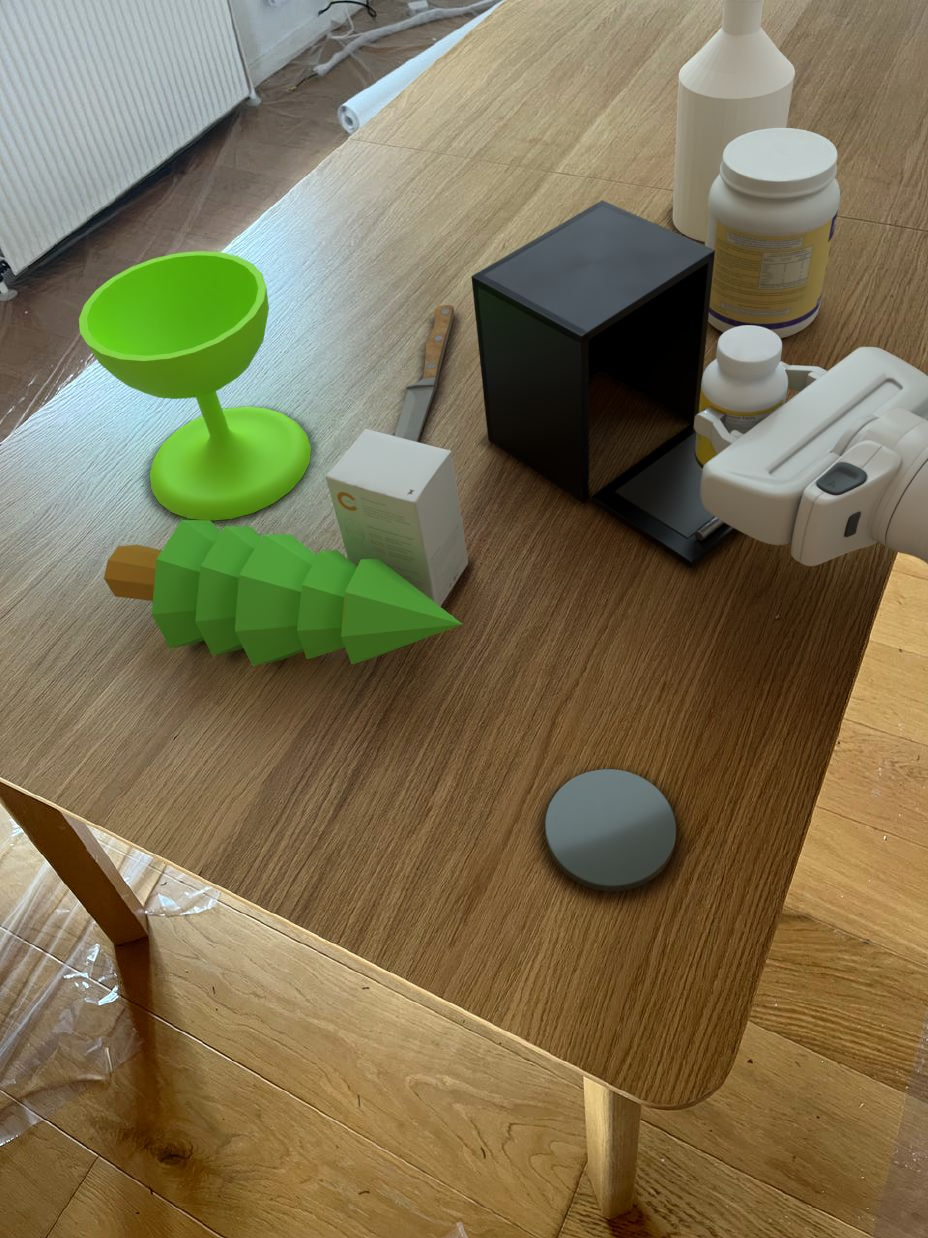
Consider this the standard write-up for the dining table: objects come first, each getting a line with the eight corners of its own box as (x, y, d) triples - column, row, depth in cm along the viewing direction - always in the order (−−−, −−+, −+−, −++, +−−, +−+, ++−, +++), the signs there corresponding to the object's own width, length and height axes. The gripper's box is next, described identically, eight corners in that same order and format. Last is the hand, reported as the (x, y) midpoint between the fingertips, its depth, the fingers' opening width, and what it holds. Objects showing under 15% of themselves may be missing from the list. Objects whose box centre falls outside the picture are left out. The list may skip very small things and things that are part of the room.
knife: (426, 304, 112) (453, 304, 111) (428, 313, 113) (454, 313, 112) (371, 507, 93) (403, 507, 93) (373, 515, 94) (405, 516, 94)
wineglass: (264, 534, 93) (207, 373, 80) (118, 503, 98) (40, 346, 84) (337, 423, 103) (298, 261, 89) (200, 399, 107) (142, 242, 93)
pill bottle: (724, 425, 88) (739, 307, 79) (789, 457, 84) (813, 337, 75) (677, 465, 85) (687, 347, 76) (742, 499, 82) (761, 380, 73)
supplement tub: (839, 329, 104) (874, 168, 91) (726, 357, 103) (745, 198, 90) (786, 268, 112) (811, 111, 99) (680, 292, 111) (692, 138, 98)
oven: (803, 478, 91) (839, 304, 78) (686, 572, 86) (703, 403, 72) (601, 364, 104) (602, 199, 91) (488, 440, 99) (471, 275, 85)
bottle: (765, 248, 115) (800, 4, 96) (660, 239, 118) (673, 2, 99) (781, 194, 122) (815, -44, 102) (681, 187, 125) (696, -45, 106)
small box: (470, 563, 89) (454, 449, 79) (436, 616, 85) (415, 503, 75) (389, 539, 92) (364, 425, 82) (353, 588, 88) (323, 476, 78)
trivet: (656, 765, 74) (657, 758, 73) (691, 879, 68) (692, 873, 68) (534, 787, 74) (533, 780, 73) (559, 903, 68) (558, 896, 68)
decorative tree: (105, 483, 81) (461, 528, 73) (176, 537, 92) (494, 582, 83) (58, 617, 79) (423, 681, 70) (138, 657, 89) (463, 717, 80)
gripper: (982, 369, 74) (821, 299, 82) (807, 515, 67) (647, 424, 74) (958, 437, 79) (808, 365, 86) (793, 580, 71) (643, 488, 79)
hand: (732, 393), depth 80 cm, fingers closed on pill bottle, 6 cm apart
